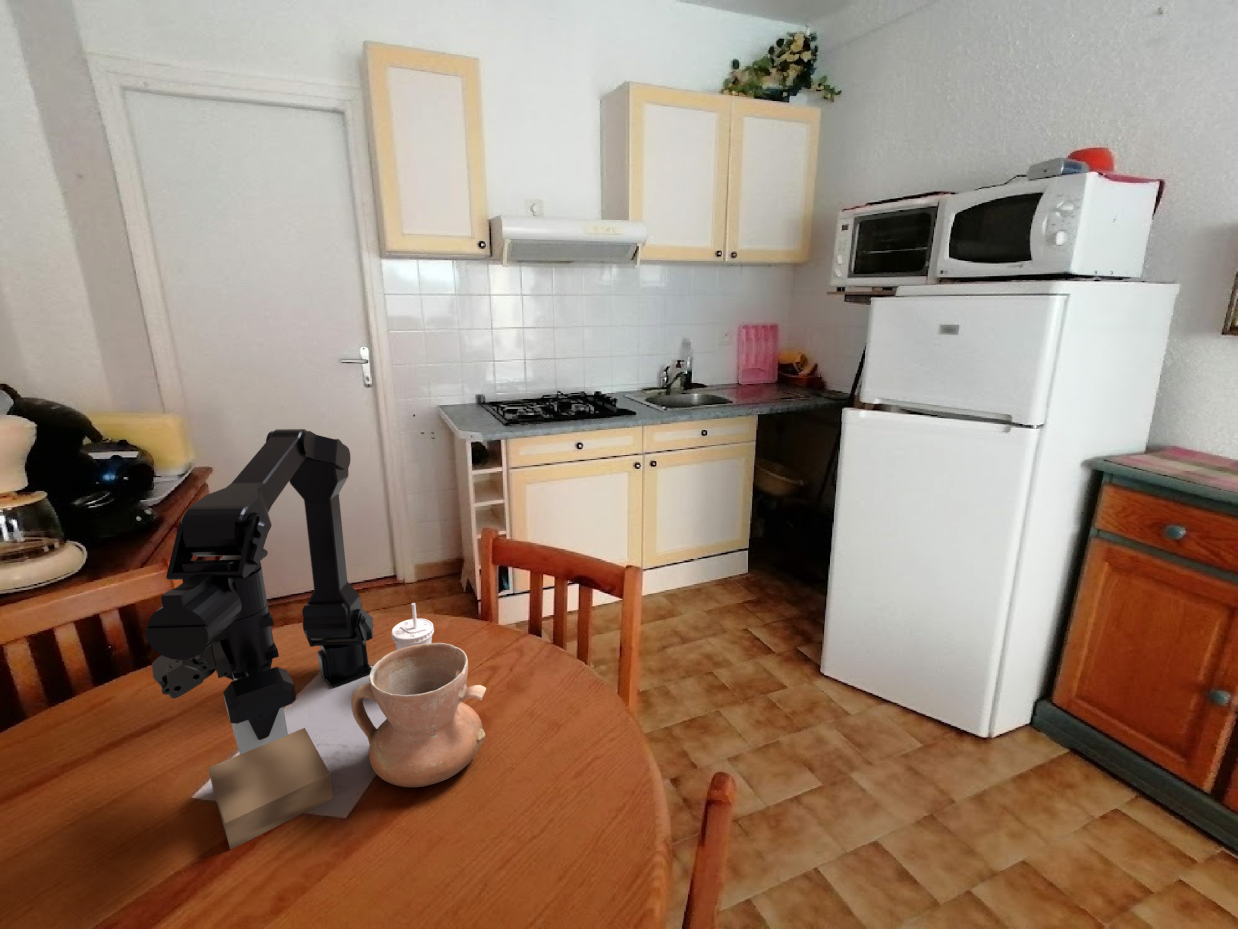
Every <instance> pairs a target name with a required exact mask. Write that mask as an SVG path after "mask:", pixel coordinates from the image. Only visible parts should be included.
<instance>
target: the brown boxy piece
mask: <svg viewBox="0 0 1238 929" xmlns="http://www.w3.org/2000/svg"><path fill="white" fill-rule="evenodd" d="M208 773H209V778H210V782H211V783H210V784H211V785H212V792H213V795H214V799H215V802H216V805H217V809H218V813H219V815H220V818H221V822H222V826H223V830H224V833H225V836H226V840H227V843H228V847H229V850H233V849H234V848H236V847H238V846H241V845H243V844H245V843H247V842H249V841H250V840H253V839H255V838H257V837H259V836H260V835H263V834H265V833H267V832H269V831H270V830H273V829H275V828H276V827H277V828H278V826H281V825H282V824H284V823H285V824H286V823H287V822H289V821H291V820H293V819H295V818H297V817H299V816H302V815H303V814H305V813H307V812H309V811H311V810H313V809H315V808H317V807H320V806H321V805H323V804H325V803H327V802H329V801H331V800H334V792H333V786H332V784H333V783H332V779H331V773H330V771H329V769H328V767H327V766H326V763H324V760H323V758H322V757H321V755H320V752H319V751H318V749H317V748H316V746H315V743H314V741H313V740H312V739H311V737H310V735H309V732H308V730H307V729H306V727H303V728H300V729H298V730H296V731H293V732H291V733H288V736H285V737H283V738H280V739H278V740H275V741H273V742H270V743H268V744H265V745H263V746H260V747H258V748H255V749H253V750H250V751H248V752H245V753H242V754H240V753H239V754H238V755H235V756H233V757H231V758H228V759H225V760H223V761H221V762H219V763H216V764H214V765H211V766H209V767H208ZM326 801H327V802H326ZM324 802H325V803H324ZM320 804H321V805H320Z"/></svg>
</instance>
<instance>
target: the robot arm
mask: <svg viewBox="0 0 1238 929" xmlns="http://www.w3.org/2000/svg"><path fill="white" fill-rule="evenodd" d="M350 466H351V451H350V449H349V447H348V446H347V445H346V444H345V443H343V442H342V441H341V440H340V438H331V437H327V436H322V435H320V434H316V433H315V432H313V431H311V430H307V429H304V428H303V429H302V428H291V429H288V428H287V429H286V428H285V429H283V428H282V429H280V428H278V429H277V428H276V429H275V430H271V431H270V432H268V433H267V435H266V438H265V443H264V444H263V445H262V446H261V448H260V449H259V450H258V451H257V452H256V453H255V455H254V456H253V457H252V458H251V460H250V461H249V462H248V463H247V464H246V465H245V466H244V467H243V469H242V470H241V471H240V472H239V474H238V475H237V476H236V477H235V478H234V480H233V481H232V482H231V483H230V484H228V485H227V486H226V487H224V488H221V489H219V490H218V489H217V490H216V491H214V492H211V493H208V494H205V495H204V496H202V497H201V498H200V499H199V500H197V501H196V502H195V503H193V504H192V505H191V506H189V507H188V509H186V511H185V512H184V514H183V515H182V517H181V520H179V524H178V527H177V531H176V536H175V538H174V543H173V547H172V552H171V556H170V559H169V564H168V567H167V572H166V577H165V578H166V579H167V580H168V581H175V580H180V581H181V580H182V583H180V584H179V585H178V586H176V587H175V588H172V589H170V590H167V591H166V592H165V593H164V594H162V595H161V597H160V601H161V607H160V608H158V609H157V610H156V611H155V612H153V613H152V614H151V615H150V617H149V619H148V620H147V623H146V628H145V629H144V634H145V638H146V640H147V643H148V644H149V646H150V647H151V648H152V649H153V650H154V651H155V652H157V653H158V654H159V655H160V656H158V657H157V658H156V659H155V660H154V661H153V662H152V664H151V668H152V669H151V670H152V677H153V679H154V681H155V682H156V683H157V684H158V685H159V686H160V688H161V693H162V695H166V696H167V695H168V696H169V698H171V699H177V698H179V697H182V696H183V695H185V694H187V693H189V692H190V691H192V690H193V689H195V688H197V687H198V686H200V685H201V684H203V683H204V680H206V679H208V678H209V677H210V676H212V675H213V674H214V673H216V675H217V679H220V678H224V677H225V678H227V679H229V680H232V681H231V682H230V683H228V685H227V687H226V688H225V689H224V690H223V692H222V694H223V699H224V703H225V707H226V712H227V715H228V716H227V717H228V719H229V721H230V724H232V723H235V724H238V723H241V722H244V721H246V720H248V721H249V723H250V725H251V727H252V729H253V731H254V733H255V734H256V736H257V738H258V740H262V739H264V738H267V737H269V735H270V732H271V730H272V727H273V724H274V722H275V719H276V717H277V714H278V712H279V709H280V708H282V707H286V706H290V705H292V704H294V703H295V701H296V700H297V694H296V687H295V683H294V682H293V679H292V677H291V675H290V673H289V671H288V670H287V669H284V668H282V667H280V666H274V667H272V665H273V659H277V658H279V650H278V649H279V648H278V647H277V645H276V642H275V641H274V634H273V629H272V626H274V625H275V624H274V619H273V618H274V617H273V615H272V614H271V612H270V610H269V604H268V599H267V598H268V597H267V593H266V588H265V586H266V584H265V579H264V576H263V575H264V572H263V568H262V563H261V561H262V560H263V559H265V558H267V556H268V554H269V553H268V549H265V548H264V547H265V544H266V541H267V538H268V536H269V532H270V530H271V528H272V521H271V518H270V515H269V512H270V511H271V509H272V506H273V505H274V503H275V502H276V500H277V499H278V498H279V496H280V495H281V494H282V492H283V491H284V489H285V488H286V486H287V485H288V484H290V486H291V487H292V488H293V489H294V490H295V491H296V492H297V494H299V496H300V497H301V499H303V504H304V510H305V520H306V529H307V530H306V531H307V538H308V548H309V556H310V558H309V559H310V567H311V575H312V584H313V585H312V586H313V592H312V594H311V596H310V598H309V599H308V601H307V602H306V604H305V605H304V606H303V608H302V611H301V612H302V616H303V619H302V629H303V632H304V635H305V637H306V639H307V642H308V644H309V647H313V648H314V647H320V650H318V651H317V660H318V667H319V673H320V676H321V677H322V678H323V680H324V681H327V683H328V685H329V686H330V688H335V687H338V686H340V685H343V684H345V683H349V682H351V681H354V680H356V679H359V678H361V677H364V676H368V675H370V672H371V669H372V667H371V665H370V664H369V658H368V651H367V650H368V649H367V642H368V641H370V640H373V638H374V631H373V630H374V627H375V626H374V618H373V616H371V615H370V614H369V613H368V612H367V611H366V610H364V609H363V606H362V600H361V595H360V594H359V592H357V590H356V589H355V588H354V587H353V586H352V585H351V584H350V583H349V581H348V574H347V564H346V555H345V545H344V534H343V523H342V515H341V514H342V512H341V504H340V502H341V501H340V493H341V490H342V489H343V487H344V485H345V483H346V482H347V480H348V478H349V467H350ZM222 556H223V557H222ZM193 557H221V558H220V559H212V560H211V559H209V560H208V559H205V560H203V559H201V560H192V559H193Z"/></svg>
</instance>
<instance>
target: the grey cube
mask: <svg viewBox="0 0 1238 929" xmlns="http://www.w3.org/2000/svg"><path fill="white" fill-rule="evenodd" d="M284 707H285V706H284ZM284 707H282V708H280V709H279V712H278V714H277V717H276V719H275V722H274V724H273V727H272V730H271V732H270V735H269V737H267V738H264V739H262V740H258V738H257V736H256V734H255V733H254V731H253V729H252V727H251V725H250V723H249V721H248V720H246V721H244V722H241V723H238V724H235V723H231V727H232V732H233V737H234V739H235V743H236V746H237V750H238V752H239V753H238V754H239V755H240V754H242V753H245V752H248V751H250V750H253V749H255V748H258V747H260V746H263V745H265V744H268V743H270V742H273V741H275V740H278V739H280V738H283V737H285V736H288V734H289V732H288V727H287V721H286V715H285V714H286V713H285V708H284Z"/></svg>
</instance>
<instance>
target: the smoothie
mask: <svg viewBox="0 0 1238 929" xmlns="http://www.w3.org/2000/svg"><path fill="white" fill-rule="evenodd" d="M416 608H417V605H416V603H415V602H412V603H411V612H412V618H411V619H407V620H403V621H400V622H399V623H397V624H395V625H394V626H393V627H392V630H391V640H392V641H393V642H394V645H395V648H396V650H399V649H402V648H405V647H410V646H413V645H421V644H430V643H433V642H432V639H433V635H434V632H435V628H434V623H433V622H432V621H430V620H428V619H426V618H418V617H417V609H416Z"/></svg>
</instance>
